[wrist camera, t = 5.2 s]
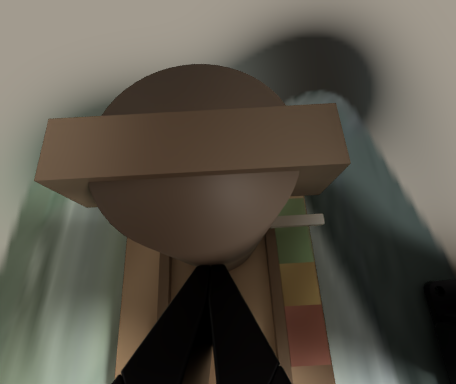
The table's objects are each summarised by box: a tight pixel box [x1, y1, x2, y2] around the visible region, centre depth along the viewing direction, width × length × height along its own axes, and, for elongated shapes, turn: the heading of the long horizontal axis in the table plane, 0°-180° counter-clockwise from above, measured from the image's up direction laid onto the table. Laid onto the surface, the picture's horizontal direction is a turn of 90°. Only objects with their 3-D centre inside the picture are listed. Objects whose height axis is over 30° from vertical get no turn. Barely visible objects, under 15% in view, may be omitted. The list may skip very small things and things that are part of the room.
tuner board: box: [115, 196, 335, 384], centre depth 13 cm, size 10×14×2 cm
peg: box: [34, 64, 351, 271], centre depth 9 cm, size 8×4×9 cm, turn 93°
